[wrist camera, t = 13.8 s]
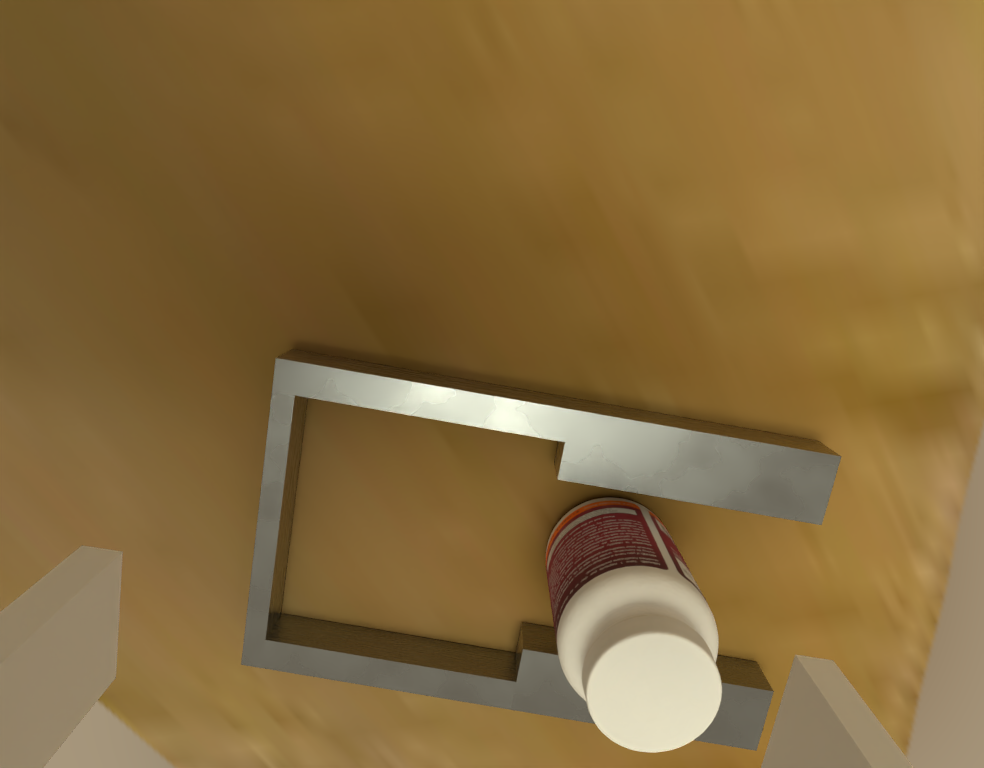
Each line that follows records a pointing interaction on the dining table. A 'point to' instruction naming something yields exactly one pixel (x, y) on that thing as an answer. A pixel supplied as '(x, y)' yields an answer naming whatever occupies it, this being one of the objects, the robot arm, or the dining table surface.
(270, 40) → the dining table surface
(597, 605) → the pill bottle
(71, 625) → the robot arm
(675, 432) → the grey u-shaped frame
